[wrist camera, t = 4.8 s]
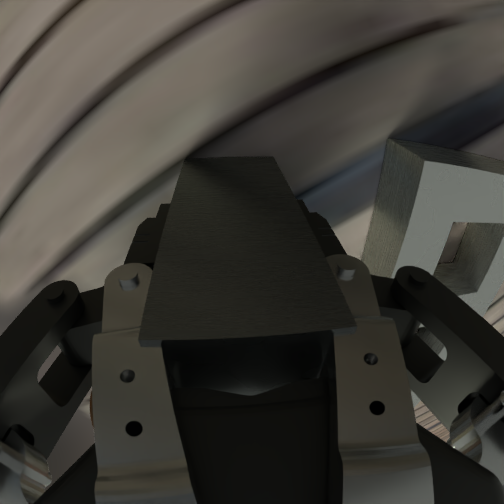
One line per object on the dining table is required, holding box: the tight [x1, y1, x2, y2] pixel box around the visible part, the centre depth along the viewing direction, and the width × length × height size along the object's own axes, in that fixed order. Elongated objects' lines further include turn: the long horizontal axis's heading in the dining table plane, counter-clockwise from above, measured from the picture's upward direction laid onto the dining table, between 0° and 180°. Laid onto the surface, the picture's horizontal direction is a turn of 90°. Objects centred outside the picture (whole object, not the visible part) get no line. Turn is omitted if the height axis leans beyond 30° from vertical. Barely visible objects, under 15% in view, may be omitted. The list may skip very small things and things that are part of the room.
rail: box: [361, 138, 504, 407], centre depth 18 cm, size 10×24×3 cm, turn 178°
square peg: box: [138, 157, 357, 396], centre depth 9 cm, size 4×4×9 cm
